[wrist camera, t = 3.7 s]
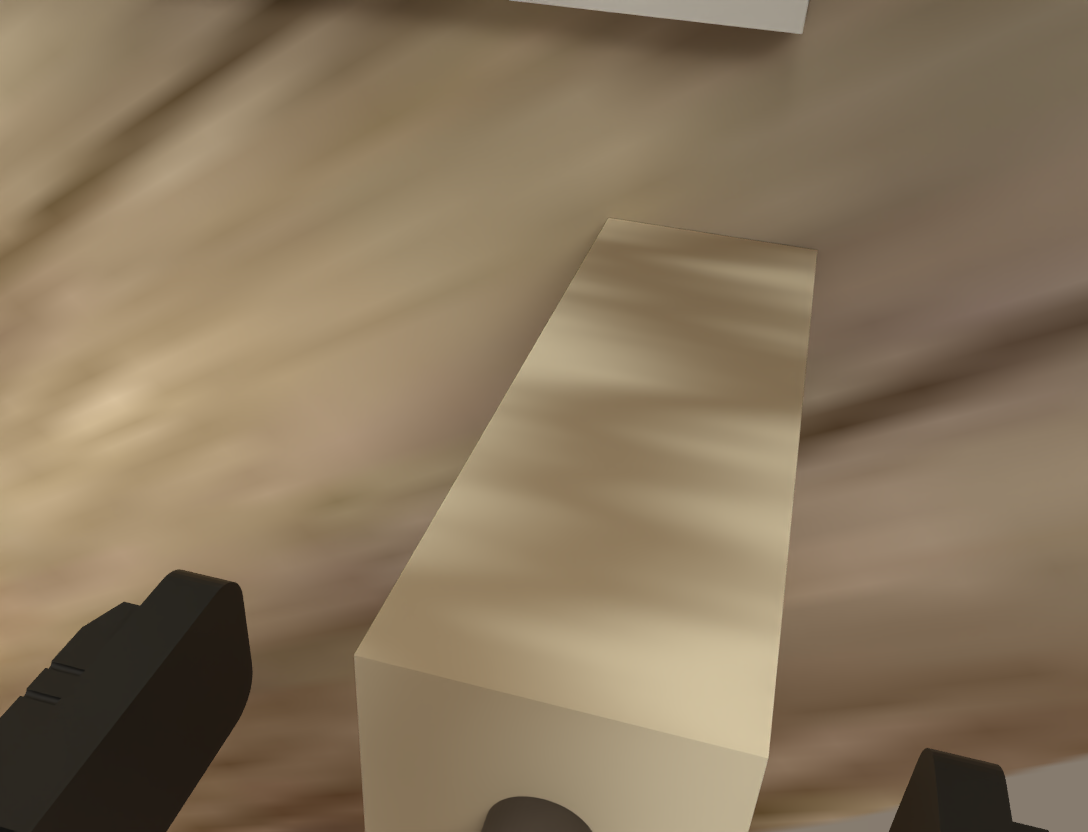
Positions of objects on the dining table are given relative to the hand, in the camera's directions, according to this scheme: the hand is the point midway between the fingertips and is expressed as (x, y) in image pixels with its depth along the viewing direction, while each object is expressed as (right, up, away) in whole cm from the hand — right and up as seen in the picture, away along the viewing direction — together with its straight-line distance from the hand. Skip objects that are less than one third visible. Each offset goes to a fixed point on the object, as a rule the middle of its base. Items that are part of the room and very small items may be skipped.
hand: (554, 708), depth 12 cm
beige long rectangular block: (+3, +5, +9) cm, 11 cm away
